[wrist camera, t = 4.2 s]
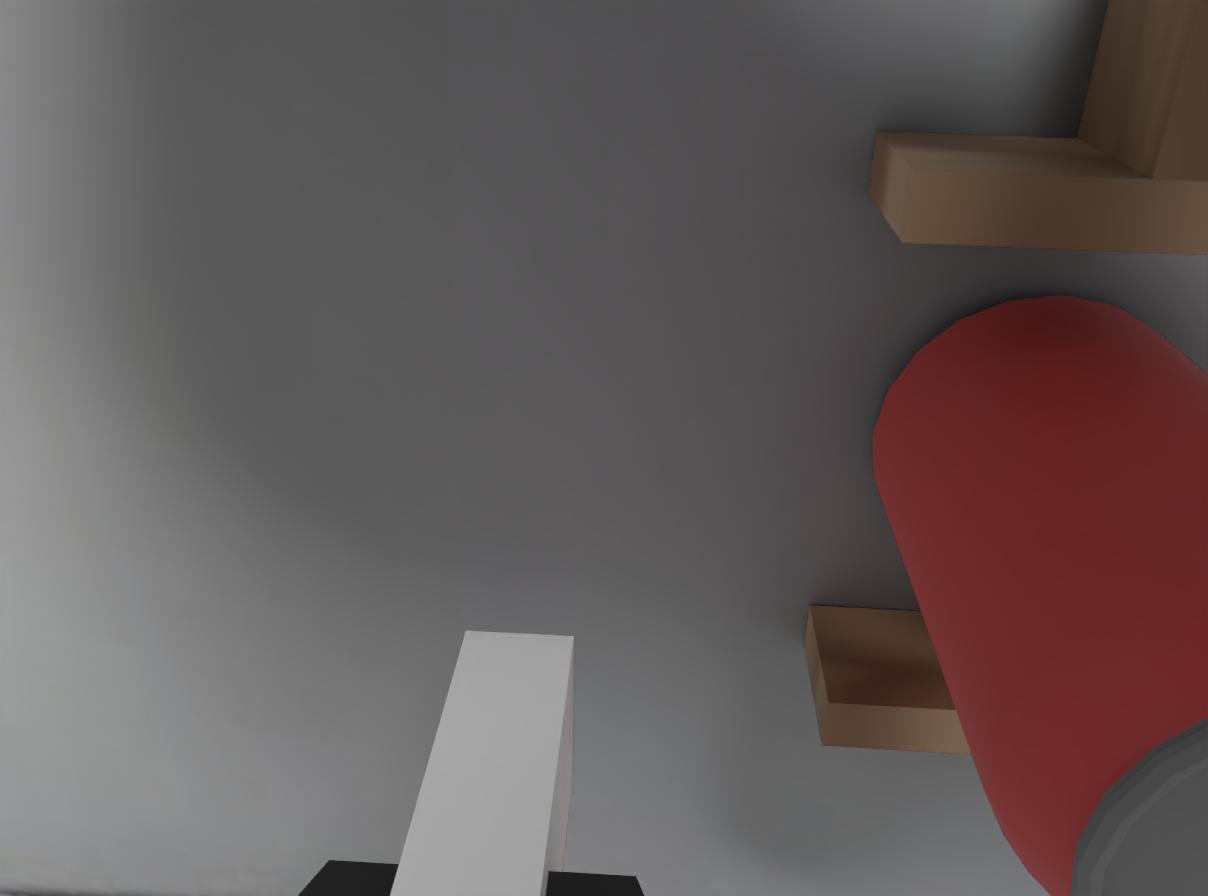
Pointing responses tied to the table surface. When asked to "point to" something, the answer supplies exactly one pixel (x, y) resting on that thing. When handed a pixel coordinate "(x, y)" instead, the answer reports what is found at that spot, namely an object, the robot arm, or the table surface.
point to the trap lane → (1024, 220)
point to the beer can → (1065, 580)
